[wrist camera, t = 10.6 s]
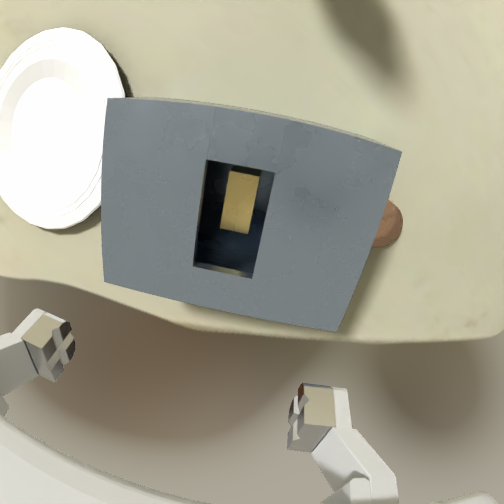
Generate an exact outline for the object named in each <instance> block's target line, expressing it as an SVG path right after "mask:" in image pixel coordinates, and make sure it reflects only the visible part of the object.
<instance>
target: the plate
mask: <svg viewBox="0 0 504 504" xmlns="http://www.w3.org/2000/svg"><path fill="white" fill-rule="evenodd" d="M107 98H126V95H125V90H124V87H123V84H122V81H121V78H120V75H119V71H118V68H117V65H116V64H115V62H114V61H113V59H112V58H111V56H110V55H109V53H108V52H107V50H106V49H105V47H104V46H103V44H101V43H100V42H98V41H97V40H96V39H94V38H93V37H91V36H90V35H89V34H87V33H86V32H84V31H79V30H75V29H70V28H65V27H63V28H57V29H51V30H45V31H43V32H41V33H39V34H37V35H35V36H33V37H32V38H30V39H28V40H26V41H25V42H24V43H23V44H22V45H21V46H20V47H19V48H18V49H17V50H16V51H14V52H13V53H12V54H11V55H10V57H9V58H8V60H7V61H6V63H5V64H4V66H3V67H2V69H1V70H0V195H1V197H2V199H3V200H4V201H5V202H6V204H7V205H8V206H9V207H10V208H11V209H12V210H13V211H14V212H15V214H16V215H18V216H19V217H21V218H22V219H24V220H25V221H27V222H28V223H30V224H32V225H35V226H38V227H42V228H45V229H66V228H68V227H71V226H73V225H75V224H77V223H80V222H82V221H84V220H85V219H86V218H87V217H88V216H89V215H91V214H92V213H93V212H94V211H95V210H96V209H97V208H98V207H99V206H101V173H102V152H103V137H104V125H105V115H106V106H107Z"/></svg>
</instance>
